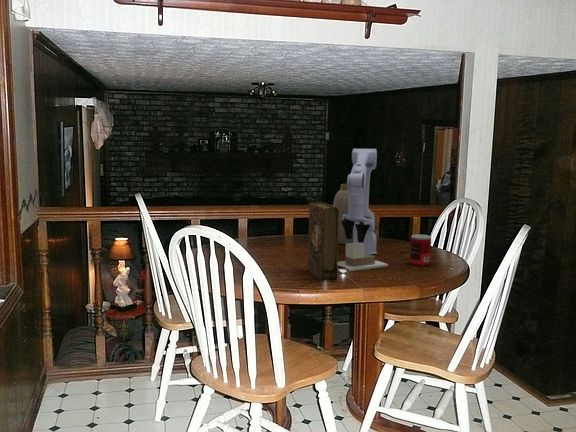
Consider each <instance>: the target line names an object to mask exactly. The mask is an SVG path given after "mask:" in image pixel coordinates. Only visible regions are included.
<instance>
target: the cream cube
mask: <svg viewBox="0 0 576 432" xmlns="http://www.w3.org/2000/svg"><path fill="white" fill-rule="evenodd" d="M346 257H349V258H352V259H357V258H364V244H361V243H357V242H355V243H346V244H345V258H346Z"/></svg>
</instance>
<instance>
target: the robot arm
mask: <svg viewBox="0 0 576 432" xmlns="http://www.w3.org/2000/svg"><path fill="white" fill-rule="evenodd" d="M377 157H378V151H377V149H376V148H353V149H352V152H351V162H352V164H353V165H352V168H351V171H350V174H349V173H348V175H347V180H346V184H347V185H348V193H349V196H348V214H343V216H342V219H344V221H341V223H342V225H343V228H344V231H345V235H346V239H352V234H353V233H354V235H353V243H355V242H357V243H361V244H364V254H369V255H375V254H376V255H377V254H378V252H377V234H375V232H374V231H375V214H374V212H373V211H371V210H370V208H369V209H368V207H369V204H370V203H369V202H370V200H369V199H370V198H369V197H370V182H371V173H372V171H373V170H376V169H377ZM363 216H369V217H363Z"/></svg>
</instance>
